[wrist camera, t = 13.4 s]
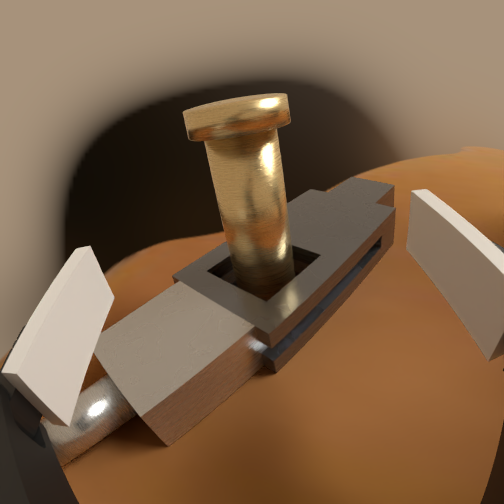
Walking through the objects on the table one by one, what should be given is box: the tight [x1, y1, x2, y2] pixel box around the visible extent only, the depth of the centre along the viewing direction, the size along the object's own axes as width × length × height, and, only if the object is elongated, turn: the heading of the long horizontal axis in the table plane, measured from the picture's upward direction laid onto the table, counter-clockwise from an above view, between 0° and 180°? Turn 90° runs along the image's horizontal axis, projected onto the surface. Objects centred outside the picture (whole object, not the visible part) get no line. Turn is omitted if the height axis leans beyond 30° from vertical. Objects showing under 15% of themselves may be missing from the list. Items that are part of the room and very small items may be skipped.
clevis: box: [40, 177, 396, 466], centre depth 22 cm, size 35×9×4 cm, turn 136°
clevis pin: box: [183, 93, 295, 302], centre depth 19 cm, size 6×6×14 cm
